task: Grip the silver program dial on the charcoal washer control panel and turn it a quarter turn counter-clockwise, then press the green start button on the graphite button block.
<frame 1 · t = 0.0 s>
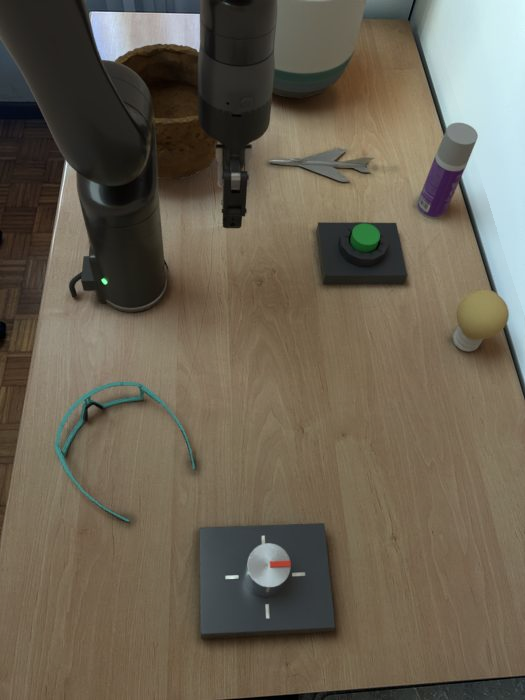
hand: (230, 199, 80), 17 cm above the table, tool pointing down, fingers open, 8 cm apart
toy airplane: (331, 167, 109), on the table
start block: (358, 257, 99), on the table
dial: (267, 570, 69), point 6 cm above the table, hinge at 0.0°
light bulb: (464, 343, 93), on the table
sunglasses: (124, 452, 81), on the table
bowl: (171, 161, 107), on the table
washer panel: (263, 582, 74), on the table
container: (430, 209, 105), on the table
planter: (291, 83, 119), on the table
start button: (365, 238, 95), point 4 cm above the table, slide at 0.1 cm
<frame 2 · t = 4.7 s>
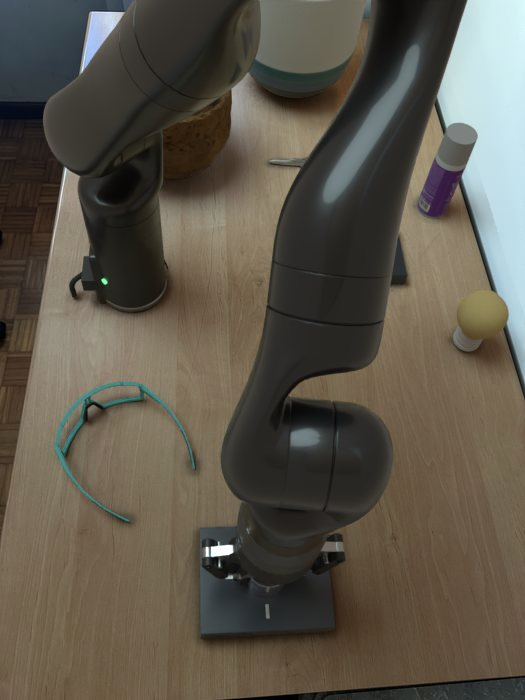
hand: (265, 573, 70), 4 cm above the table, tool pointing down, fingers closed on dial, 4 cm apart
dial: (267, 570, 69), point 6 cm above the table, hinge at 0.3°, touching gripper
everything else where it was.
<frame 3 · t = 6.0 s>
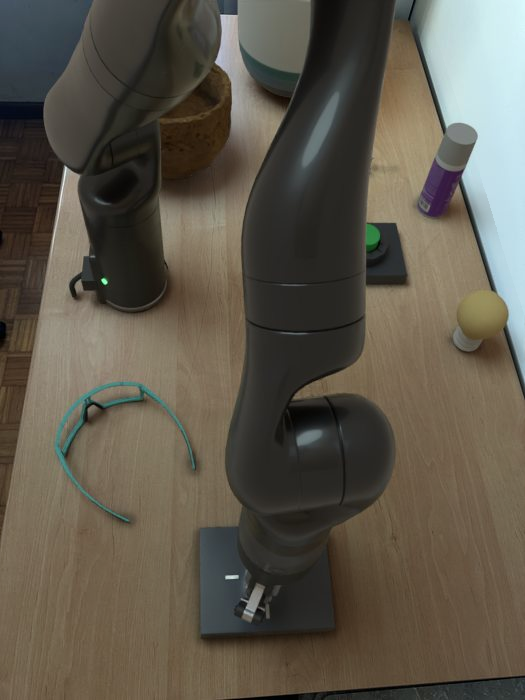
hand: (267, 574, 70), 4 cm above the table, tool pointing down, fingers closed on dial, 4 cm apart
dial: (267, 570, 69), point 6 cm above the table, hinge at 65.7°, touching gripper
everything else where it was.
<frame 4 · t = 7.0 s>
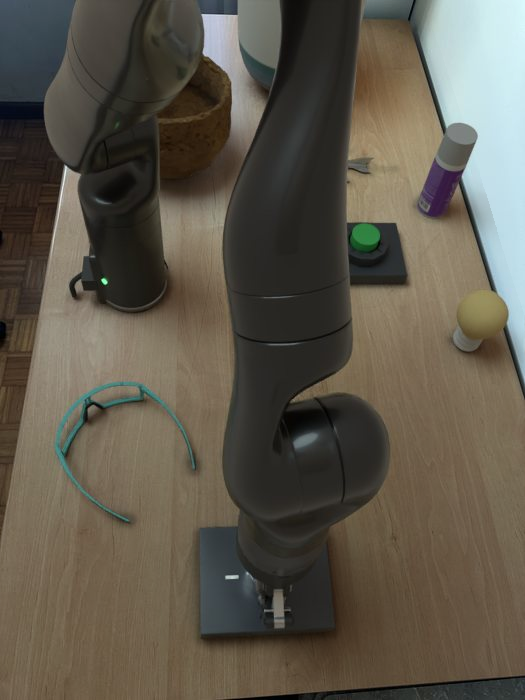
hand: (267, 575, 71), 4 cm above the table, tool pointing down, fingers open, 4 cm apart
dial: (267, 570, 69), point 6 cm above the table, hinge at 93.2°
everything else where it was.
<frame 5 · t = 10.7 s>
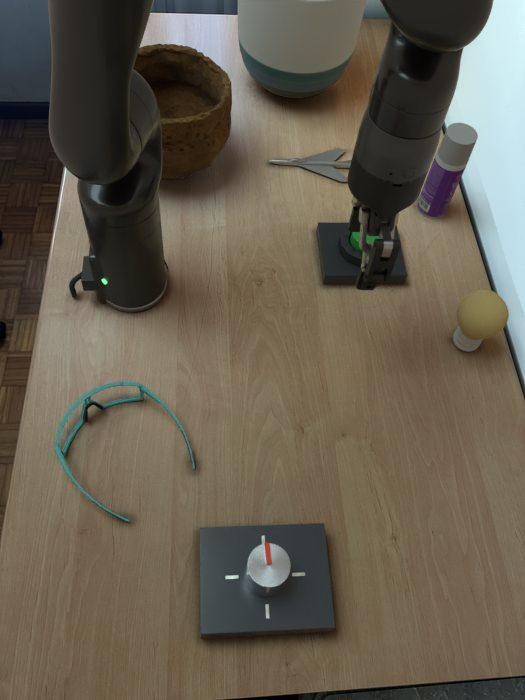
hand: (360, 258, 78), 16 cm above the table, tool pointing down, fingers open, 8 cm apart
nothing on the table moved.
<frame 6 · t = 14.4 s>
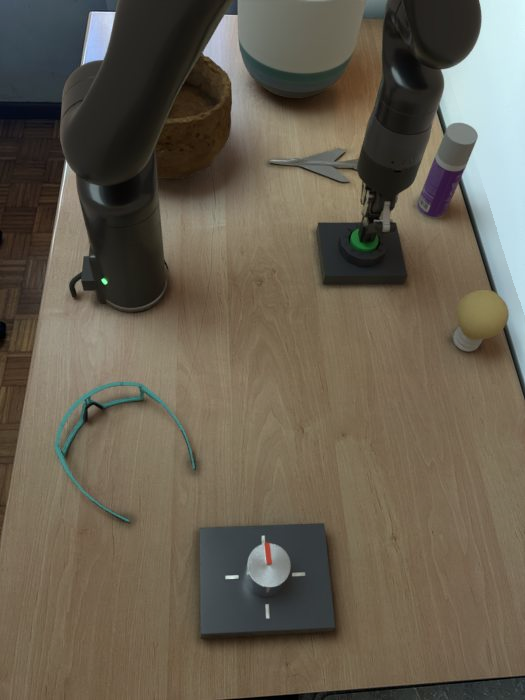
hand: (365, 238, 95), 4 cm above the table, tool pointing down, fingers closed
start button: (363, 242, 96), point 4 cm above the table, slide at -0.9 cm, touching gripper
everything else where it was.
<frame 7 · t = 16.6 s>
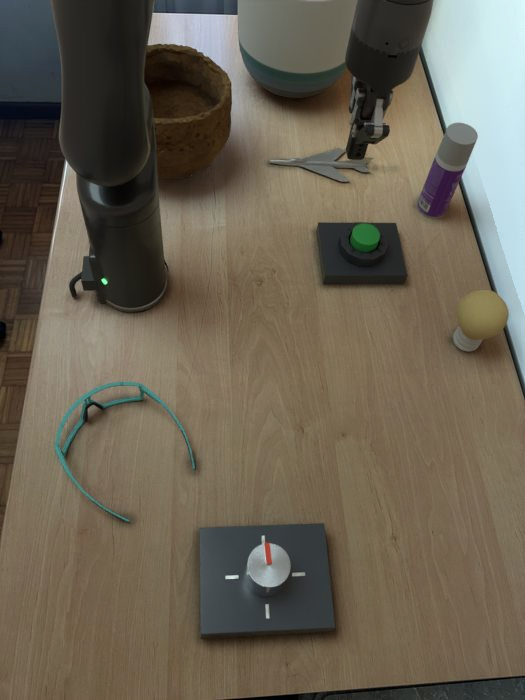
hand: (354, 155, 83), 19 cm above the table, tool pointing down, fingers closed
start button: (365, 238, 95), point 4 cm above the table, slide at 0.1 cm
everything else where it was.
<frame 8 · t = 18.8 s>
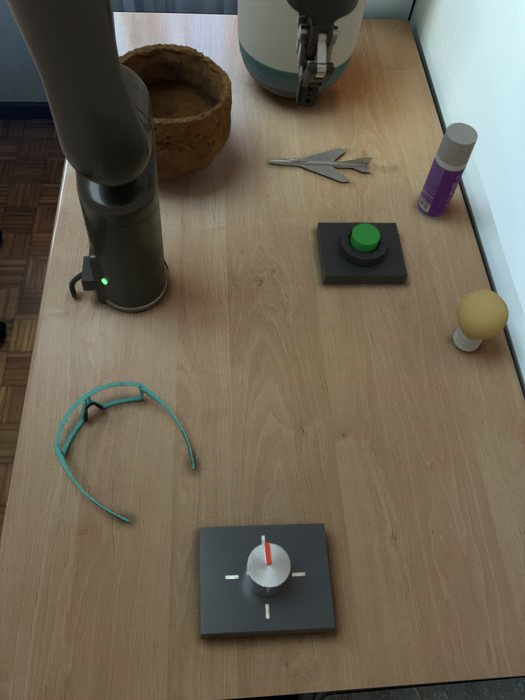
hand: (305, 103, 78), 25 cm above the table, tool pointing down, fingers closed
nothing on the table moved.
at the end: dial at +93° (first picture: +0°); start button pushed in 1.1 cm at the most during the clip, back to where it started at the end; start button slide at 0.1 cm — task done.
